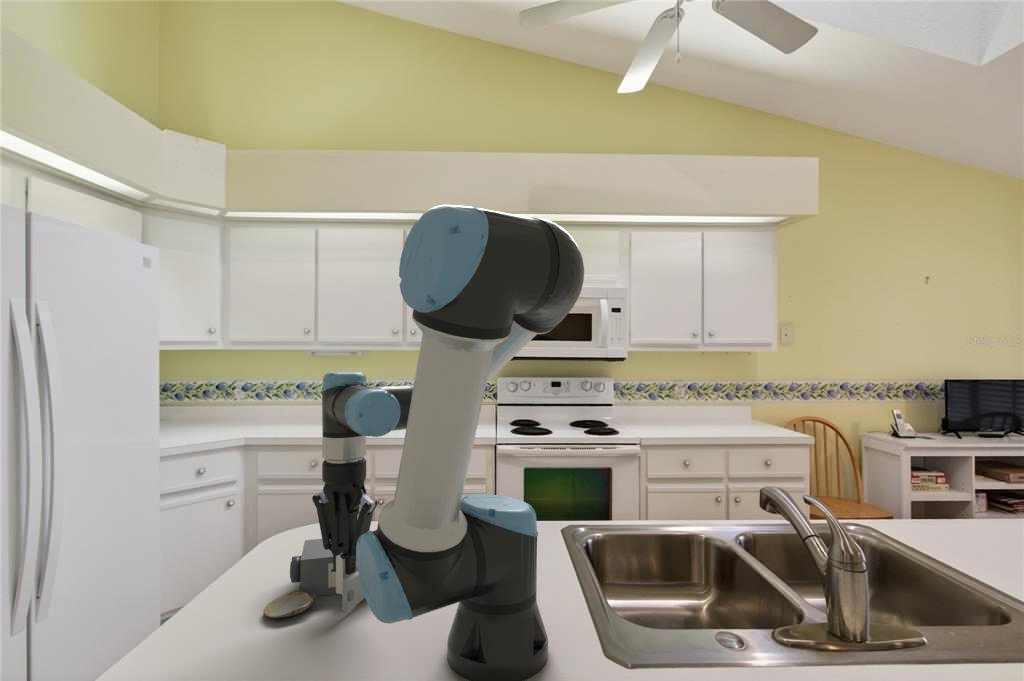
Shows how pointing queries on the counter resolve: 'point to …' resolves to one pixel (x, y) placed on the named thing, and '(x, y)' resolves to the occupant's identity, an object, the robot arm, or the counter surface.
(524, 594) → the robot arm
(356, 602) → the side door
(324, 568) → the camera body
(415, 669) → the counter surface
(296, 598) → the seashell
